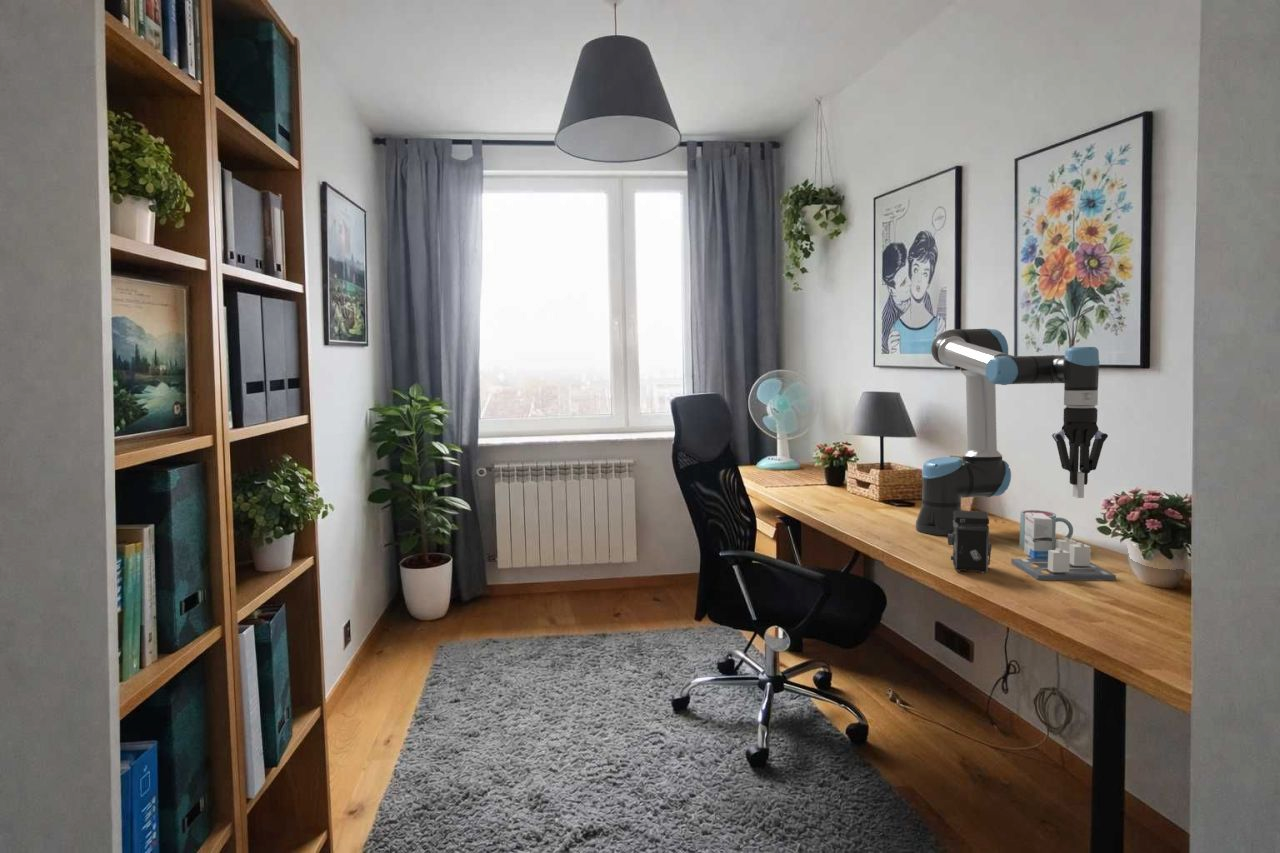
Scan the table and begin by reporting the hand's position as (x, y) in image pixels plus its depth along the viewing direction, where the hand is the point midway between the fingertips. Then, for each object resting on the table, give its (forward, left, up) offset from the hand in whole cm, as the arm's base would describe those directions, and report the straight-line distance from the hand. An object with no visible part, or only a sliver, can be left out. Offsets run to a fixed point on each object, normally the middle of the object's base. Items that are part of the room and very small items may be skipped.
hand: (1078, 496), depth 192 cm
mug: (-22, +3, -20) cm, 29 cm away
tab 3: (+2, 0, -18) cm, 18 cm away
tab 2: (+7, -8, -18) cm, 21 cm away
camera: (-1, -27, -20) cm, 33 cm away
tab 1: (-4, -1, -18) cm, 18 cm away
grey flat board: (+2, -5, -19) cm, 20 cm away
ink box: (-12, -4, -20) cm, 23 cm away
